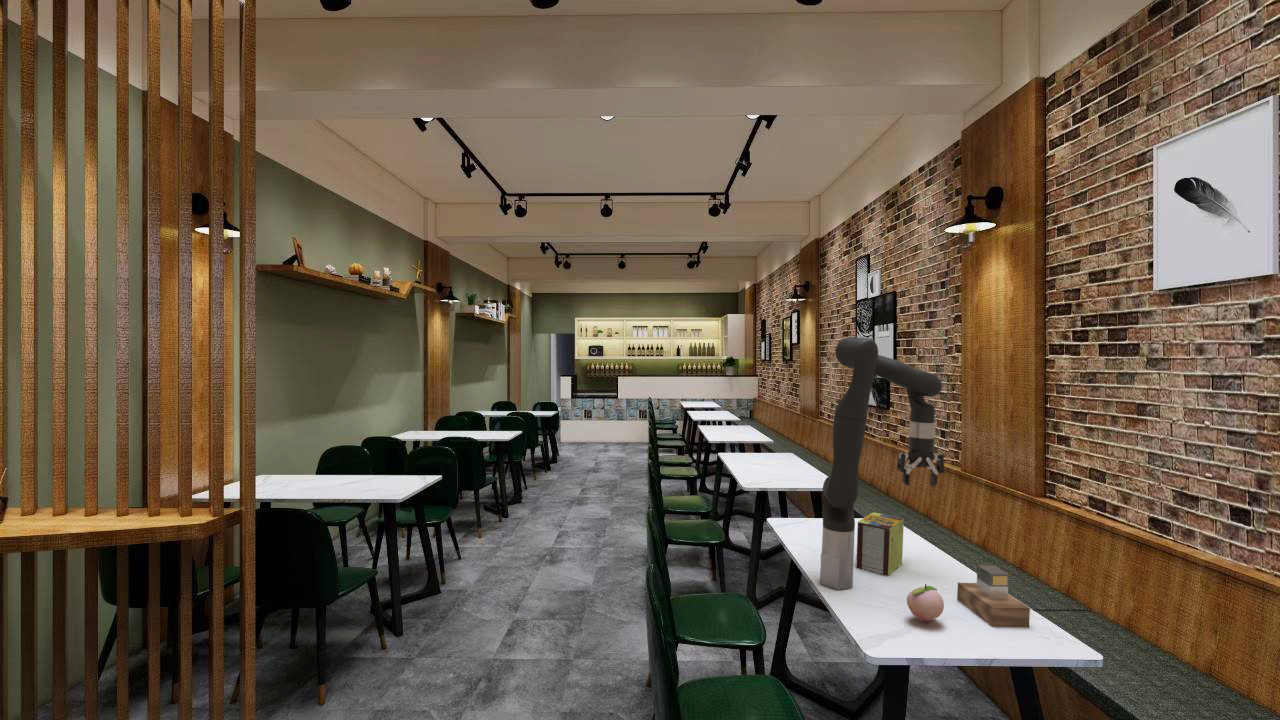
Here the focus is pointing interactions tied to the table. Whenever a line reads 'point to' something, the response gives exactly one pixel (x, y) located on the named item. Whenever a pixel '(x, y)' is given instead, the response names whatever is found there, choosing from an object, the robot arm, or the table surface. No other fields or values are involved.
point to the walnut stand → (994, 607)
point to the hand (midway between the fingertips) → (919, 485)
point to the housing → (992, 582)
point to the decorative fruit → (925, 603)
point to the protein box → (880, 543)
